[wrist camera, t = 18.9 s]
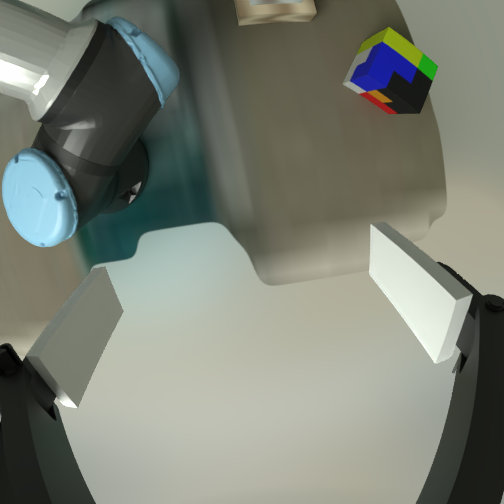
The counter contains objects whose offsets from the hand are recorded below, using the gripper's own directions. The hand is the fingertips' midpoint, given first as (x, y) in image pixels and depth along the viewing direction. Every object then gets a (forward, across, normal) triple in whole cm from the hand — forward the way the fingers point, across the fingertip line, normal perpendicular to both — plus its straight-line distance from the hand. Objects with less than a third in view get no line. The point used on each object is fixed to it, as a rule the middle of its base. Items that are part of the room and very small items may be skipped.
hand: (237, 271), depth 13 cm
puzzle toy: (+35, +26, +14) cm, 46 cm away
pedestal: (+35, +10, +31) cm, 48 cm away
